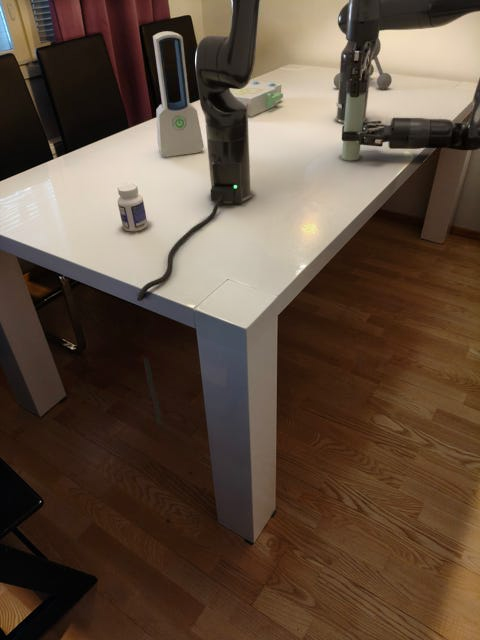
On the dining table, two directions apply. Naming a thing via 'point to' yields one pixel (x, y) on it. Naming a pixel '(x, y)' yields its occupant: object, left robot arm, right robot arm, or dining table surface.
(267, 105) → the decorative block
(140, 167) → the dining table surface
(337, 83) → the molecular model
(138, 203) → the pill bottle
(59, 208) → the dining table surface
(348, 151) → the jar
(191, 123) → the electronic device
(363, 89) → the lid
